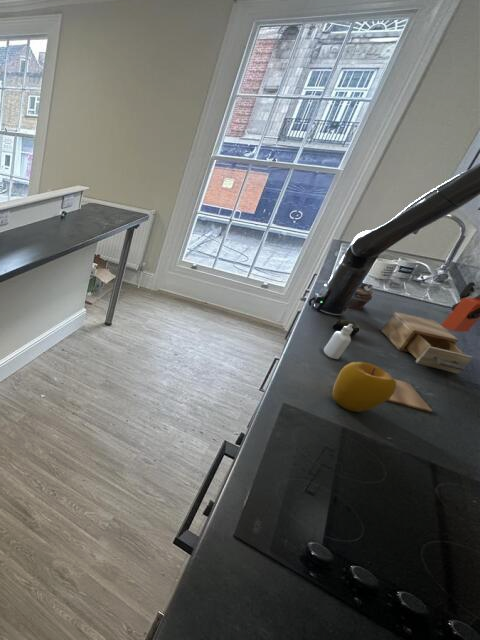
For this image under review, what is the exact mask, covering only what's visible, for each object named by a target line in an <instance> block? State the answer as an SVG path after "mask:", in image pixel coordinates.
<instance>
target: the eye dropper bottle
mask: <svg viewBox="0 0 480 640" xmlns="http://www.w3.org/2000/svg"><path fill="white" fill-rule="evenodd" d="M352 331H353V329H352V324H349V325H348V326H344V327H343V329H342V330H341V332H340V331H337V330H336V331H334V333H333V335H332V336H331V337H330V338H329V341H328V342H327V344H326V345H325V346H324V348H323V354H325V355H326V356H327V357H328V358H330V359H333V360H339V359H340V358H341V357H342V355H343V354H344V352H345V351H346V349H347V348H348V346H349V345H350V343H351V341H352V339H351V336H350V334H351V332H352Z"/></svg>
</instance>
